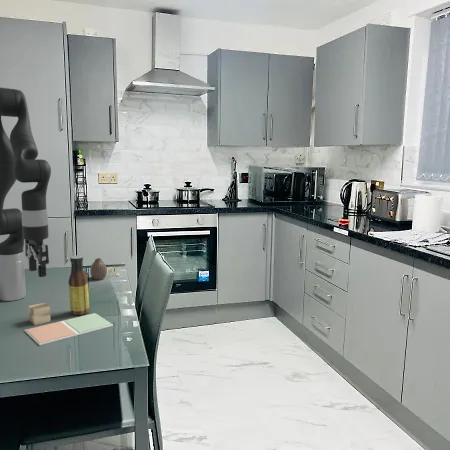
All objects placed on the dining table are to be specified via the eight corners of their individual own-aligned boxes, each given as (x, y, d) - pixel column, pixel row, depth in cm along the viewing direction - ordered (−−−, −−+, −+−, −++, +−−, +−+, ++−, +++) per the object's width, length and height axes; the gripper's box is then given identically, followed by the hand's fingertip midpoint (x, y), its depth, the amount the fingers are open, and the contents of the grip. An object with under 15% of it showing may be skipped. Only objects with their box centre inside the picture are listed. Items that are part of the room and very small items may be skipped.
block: (29, 320, 146) (28, 305, 145) (44, 317, 149) (44, 302, 148) (34, 325, 142) (34, 310, 141) (50, 321, 145) (49, 306, 144)
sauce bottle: (82, 307, 158) (81, 253, 154) (93, 312, 154) (91, 256, 150) (66, 312, 153) (63, 256, 149) (76, 317, 149) (74, 259, 145)
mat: (24, 331, 137) (24, 329, 137) (95, 314, 152) (95, 312, 152) (39, 345, 128) (39, 343, 127) (113, 326, 143) (113, 324, 143)
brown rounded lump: (90, 276, 195) (89, 257, 193) (106, 275, 197) (106, 256, 195) (90, 281, 188) (90, 261, 187) (107, 280, 190) (107, 260, 189)
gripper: (55, 225, 137) (57, 276, 140) (39, 219, 148) (41, 266, 150) (30, 228, 132) (33, 280, 135) (15, 221, 143) (18, 270, 146)
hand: (37, 273), depth 143 cm, fingers open, 8 cm apart
